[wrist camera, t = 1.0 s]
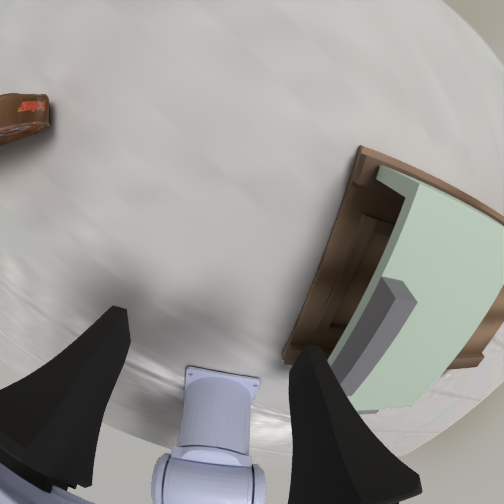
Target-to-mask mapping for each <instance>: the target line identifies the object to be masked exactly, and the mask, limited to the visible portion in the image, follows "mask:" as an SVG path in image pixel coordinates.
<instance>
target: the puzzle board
mask: <svg viewBox="0 0 504 504" xmlns="http://www.w3.org/2000/svg"><path fill="white" fill-rule="evenodd" d="M380 165H383V166H385V167H388V168H390V169H393V170H395V171H398V172H400V173H403V174H405V175H407V176H410V177H412V178H414V179H417V180H419V181H421V182H423V183H426V184H428V185H430V186H432V187H434V188H436V189H438V190H440V191H442V192H445V193H447V194H449V195H451V196H453V197H455V198H456V199H458V200H460V201H462V202H464V203H466V204H468V205H470V206H472V207H473V208H475V209H477V210H479V211H481V212H482V213H484V214H486V215H487V216H489V217H491V218H492V219H494V220H495V221H497V222H498V223H500V224H501V225H503V226H504V216H502V215H501V214H499V213H498V212H496V211H495V210H493V209H491V208H490V207H488V206H487V205H485V204H483V203H482V202H480V201H478V200H477V199H475V198H473V197H471V196H470V195H468V194H466V193H464V192H463V191H461V190H459V189H457V188H455V187H453V186H451V185H450V184H448V183H446V182H444V181H442V180H440V179H438V178H436V177H434V176H432V175H430V174H428V173H426V172H424V171H421V170H419V169H417V168H415V167H413V166H410V165H408V164H406V163H404V162H401V161H399V160H397V159H394V158H392V157H390V156H387V155H385V154H382V153H380V152H377V151H374V150H372V149H369V148H367V147H364V146H361V145H360V147H359V151H358V154H357V158H356V161H355V164H354V167H353V171H352V174H351V177H350V180H349V183H348V187H347V190H346V193H345V196H344V199H343V202H342V205H341V208H340V211H339V214H338V217H337V219H336V222H335V225H334V228H333V231H332V234H331V236H330V239H329V242H328V245H327V247H326V250H325V253H324V255H323V258H322V261H321V263H320V266H319V268H318V271H317V274H316V276H315V279H314V281H313V284H312V286H311V289H310V291H309V294H308V296H307V298H306V301H305V303H304V306H303V308H302V310H301V313H300V315H299V318H298V320H297V322H296V325H295V327H294V329H293V331H292V334H291V336H290V338H289V340H288V343H287V345H286V347H285V349H284V352H283V354H282V360H284V364H287V365H294V363H295V362H296V360H297V358H298V356H299V355H300V353H301V351H302V349H303V348H304V346H305V344H307V345H316V346H320V348H321V350H322V352H323V354H324V355H325V357H326V359H327V360H328V358H329V357H330V355H331V353H332V352H333V350H334V348H335V347H336V345H337V343H338V341H339V340H340V338H341V336H342V335H343V333H344V331H345V329H346V327H347V326H348V324H349V322H350V320H351V318H352V316H353V315H354V313H355V311H356V309H357V307H358V305H359V303H360V301H361V299H362V297H363V295H364V293H365V291H366V289H367V287H368V285H369V283H370V281H371V279H372V277H373V275H374V273H375V271H376V268H377V266H378V264H379V262H380V260H381V257H382V255H383V253H384V251H385V248H386V246H387V244H388V241H389V239H390V237H391V234H392V232H393V229H394V227H395V224H396V222H397V219H398V217H399V214H400V212H401V209H402V206H403V204H404V201H405V198H406V197H404V196H402V195H401V194H399V193H398V192H396V191H395V190H393V189H391V188H390V187H388V186H387V185H385V184H383V183H382V182H380V181H378V180H377V179H376V177H377V174H378V171H379V168H380ZM503 322H504V285H503V286H502V288H501V290H500V292H499V294H498V295H497V297H496V299H495V301H494V302H493V304H492V306H491V307H490V309H489V311H488V312H487V314H486V315H485V317H484V318H483V320H482V321H481V323H480V324H479V326H478V327H477V329H476V330H475V332H474V333H473V335H472V336H471V337H470V339H469V340H468V342H467V343H466V344H465V346H464V347H463V348H462V350H461V351H460V352H459V354H458V355H457V356H456V357H455V359H454V360H453V361H452V362H451V364H450V365H449V366H448V367H447V368H446V370H447V369H460V368H471V367H477V366H478V365H479V363H480V362H481V361H482V360H483V358H484V355H483V354H482V351H483V350H484V349H485V347H486V346H487V345H488V343H489V342H490V341H491V339H492V338H493V336H494V335H495V334H496V332H497V331H498V329H499V328H500V326H501V325H502V323H503Z"/></svg>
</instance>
